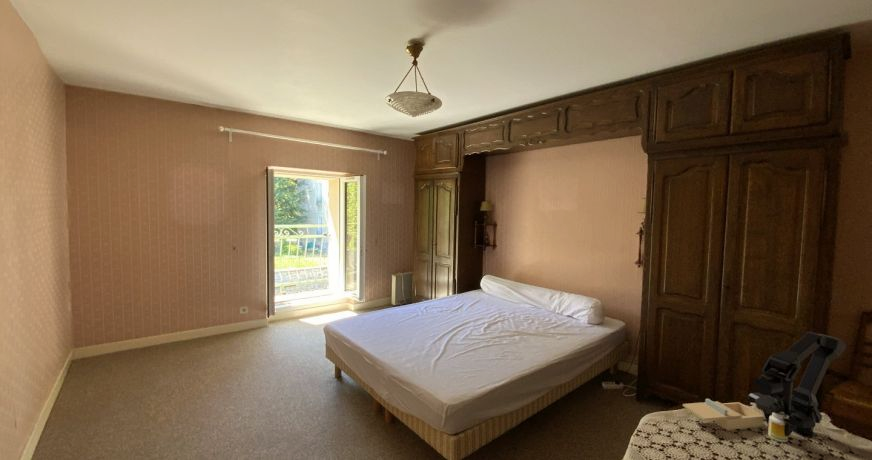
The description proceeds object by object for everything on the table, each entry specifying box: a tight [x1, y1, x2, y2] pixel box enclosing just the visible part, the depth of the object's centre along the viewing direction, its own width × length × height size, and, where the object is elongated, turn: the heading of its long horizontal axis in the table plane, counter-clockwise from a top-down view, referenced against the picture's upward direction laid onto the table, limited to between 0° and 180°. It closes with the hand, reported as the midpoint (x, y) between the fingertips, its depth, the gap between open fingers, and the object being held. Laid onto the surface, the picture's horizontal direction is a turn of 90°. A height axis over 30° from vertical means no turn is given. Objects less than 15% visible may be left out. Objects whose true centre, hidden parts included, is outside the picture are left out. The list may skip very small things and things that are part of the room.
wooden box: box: [712, 401, 765, 431], centre depth 143 cm, size 16×10×4 cm, turn 98°
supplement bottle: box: [767, 412, 789, 443], centre depth 133 cm, size 5×5×10 cm
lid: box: [682, 398, 742, 421], centre depth 141 cm, size 16×10×3 cm, turn 98°
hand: (778, 431), depth 133 cm, fingers closed on supplement bottle, 5 cm apart
